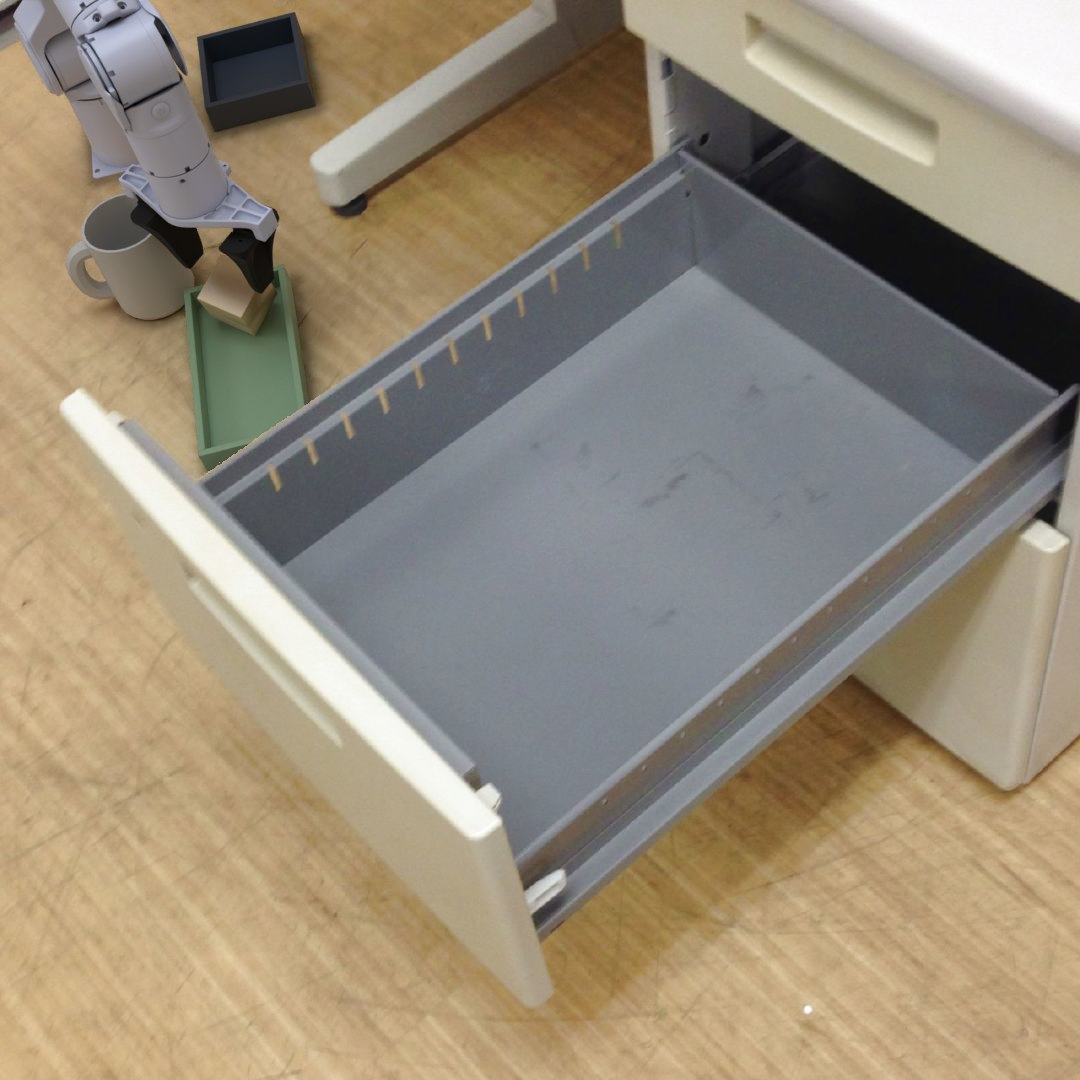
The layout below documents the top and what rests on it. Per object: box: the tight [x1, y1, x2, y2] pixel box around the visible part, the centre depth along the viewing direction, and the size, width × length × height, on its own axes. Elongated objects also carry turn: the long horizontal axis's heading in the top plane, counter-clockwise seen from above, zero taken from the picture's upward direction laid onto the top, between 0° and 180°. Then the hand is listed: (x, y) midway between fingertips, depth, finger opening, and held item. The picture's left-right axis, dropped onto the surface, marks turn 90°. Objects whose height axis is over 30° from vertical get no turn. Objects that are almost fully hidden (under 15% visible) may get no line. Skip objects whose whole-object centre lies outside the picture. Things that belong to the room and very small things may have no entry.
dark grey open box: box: [196, 11, 316, 133], centre depth 151 cm, size 11×10×4 cm
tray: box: [184, 263, 310, 473], centre depth 130 cm, size 19×9×2 cm, turn 12°
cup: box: [65, 192, 195, 321], centre depth 134 cm, size 7×10×9 cm
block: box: [197, 254, 278, 336], centre depth 131 cm, size 4×4×4 cm
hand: (229, 272), depth 130 cm, fingers open, 7 cm apart
